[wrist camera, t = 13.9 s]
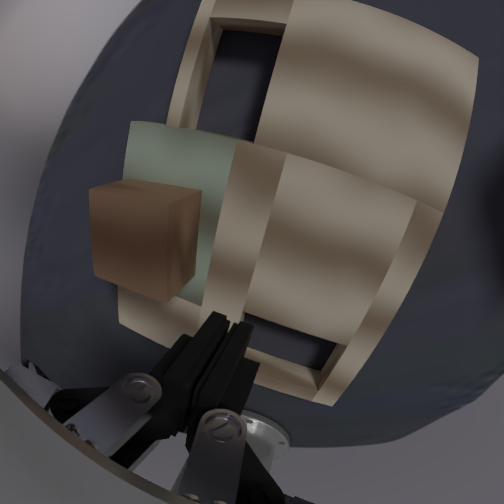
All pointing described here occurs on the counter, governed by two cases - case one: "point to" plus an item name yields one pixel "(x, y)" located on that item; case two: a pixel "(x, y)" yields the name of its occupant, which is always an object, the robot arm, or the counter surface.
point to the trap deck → (310, 180)
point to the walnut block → (145, 235)
